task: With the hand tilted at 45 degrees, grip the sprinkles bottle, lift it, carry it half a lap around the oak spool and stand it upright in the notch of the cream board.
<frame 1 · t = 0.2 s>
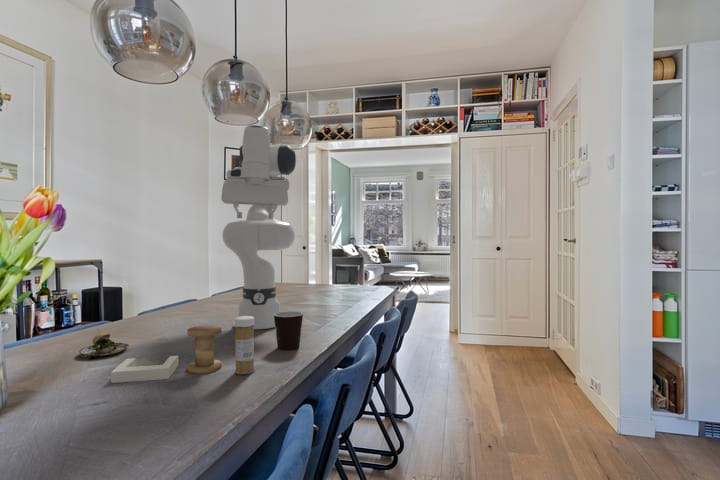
hand: (255, 218, 124), 39 cm above the table, tool pointing down, fingers open, 8 cm apart
notched board: (147, 373, 95), on the table
sprinkles bottle: (244, 372, 97), on the table
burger: (104, 354, 112), on the table
dark brown cup: (290, 346, 120), on the table
oak spool: (204, 368, 99), on the table
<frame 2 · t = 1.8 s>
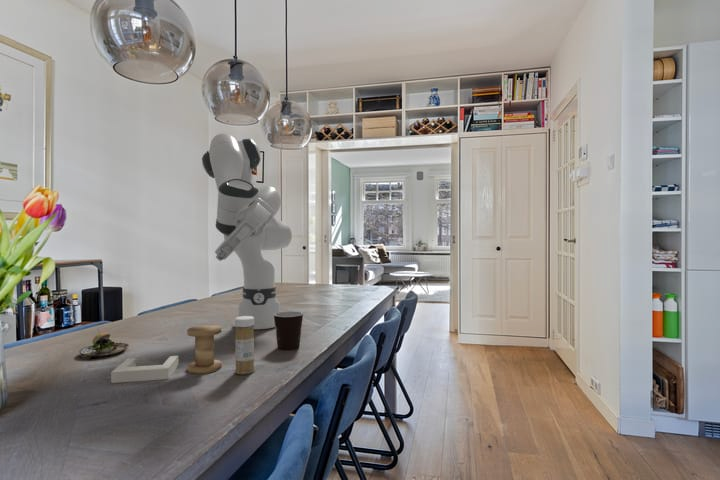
hand: (228, 249, 102), 30 cm above the table, tool tilted 55°, fingers open, 8 cm apart
nothing on the table moved.
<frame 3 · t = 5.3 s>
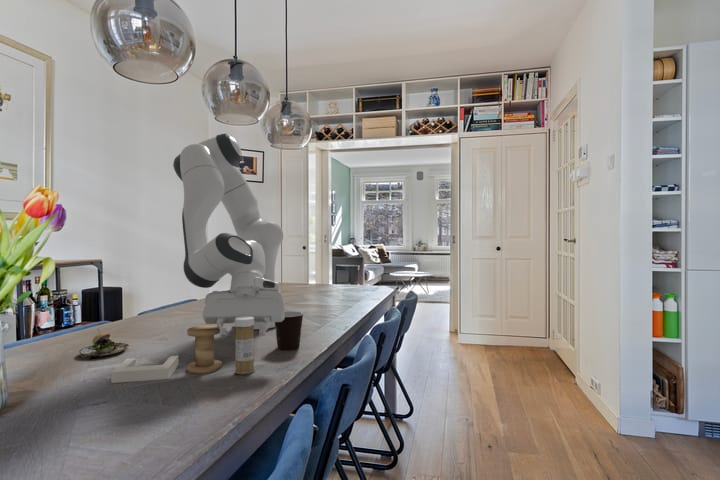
hand: (242, 335, 97), 9 cm above the table, tool tilted 45°, fingers open, 8 cm apart
nothing on the table moved.
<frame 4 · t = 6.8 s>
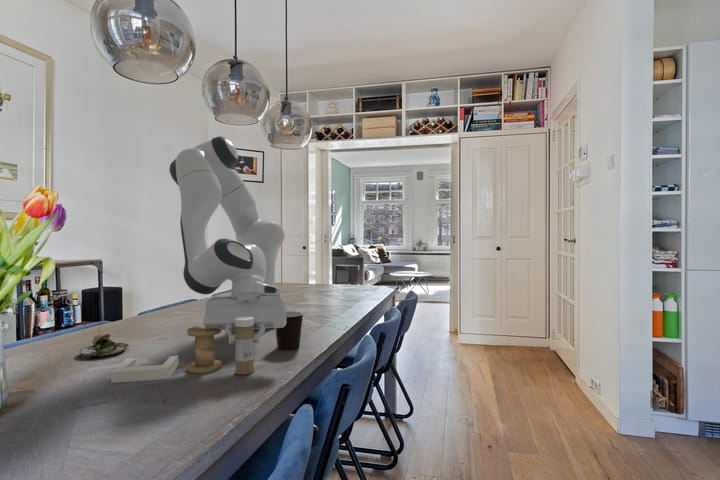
hand: (244, 342, 96), 7 cm above the table, tool tilted 45°, fingers closed on sprinkles bottle, 4 cm apart
sprinkles bottle: (244, 372, 97), on the table, touching gripper
everything else where it was.
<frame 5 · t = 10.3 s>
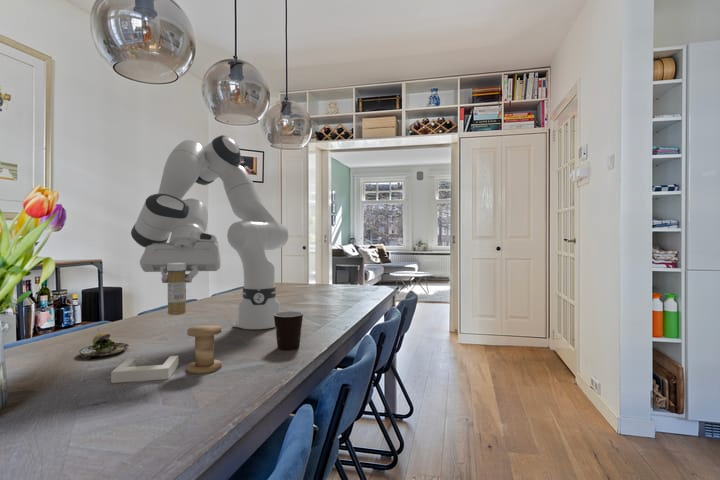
hand: (176, 281, 104), 21 cm above the table, tool tilted 45°, fingers closed on sprinkles bottle, 4 cm apart
sprinkles bottle: (176, 314, 104), point 13 cm above the table, touching gripper
everything else where it was.
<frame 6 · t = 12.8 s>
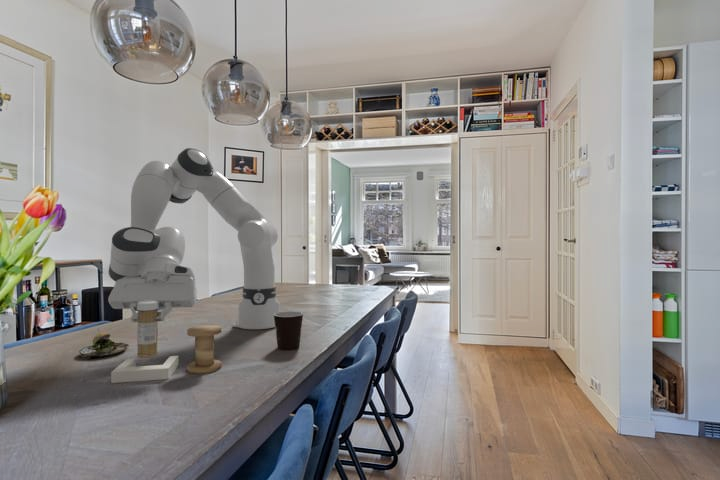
hand: (147, 320, 97), 13 cm above the table, tool tilted 45°, fingers closed on sprinkles bottle, 4 cm apart
sprinkles bottle: (147, 356, 97), point 4 cm above the table, touching gripper
everything else where it was.
when the fingers open (9 cm above the table, at t = 14.2 s): sprinkles bottle stays where it is, on the table.
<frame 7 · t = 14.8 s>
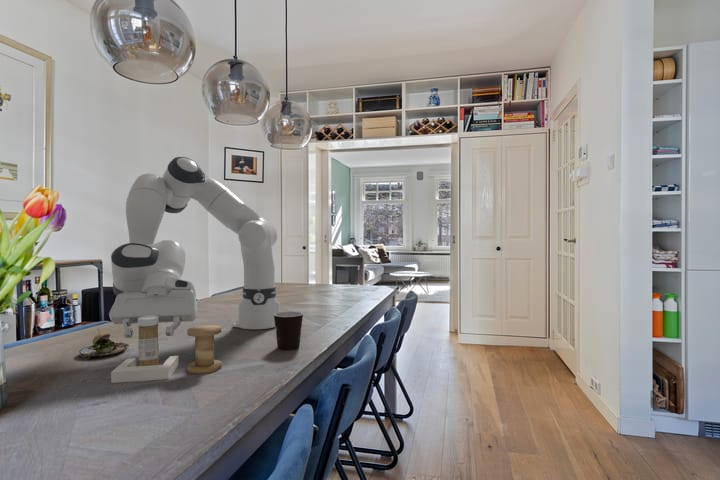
hand: (148, 335, 97), 9 cm above the table, tool tilted 45°, fingers open, 8 cm apart
sprinkles bottle: (148, 372, 97), on the table
everything else where it was.
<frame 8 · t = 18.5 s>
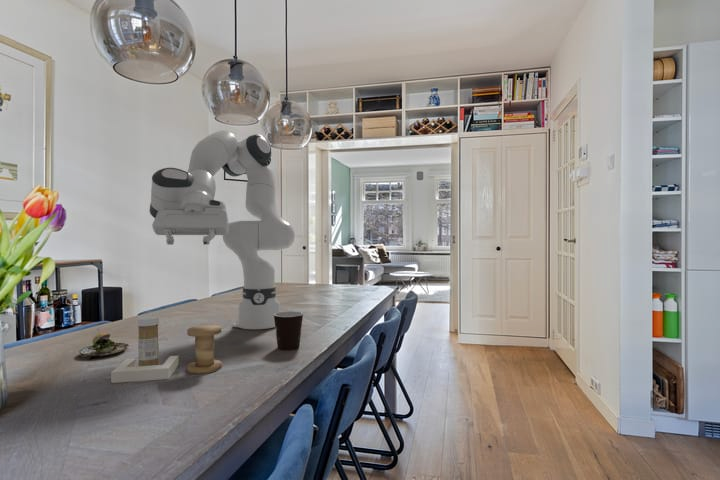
hand: (187, 243, 109), 31 cm above the table, tool tilted 45°, fingers open, 8 cm apart
nothing on the table moved.
at the end: sprinkles bottle inside the target area on the notched board (0.6 cm from its centre), point 0.0 cm above the notched board's base; sprinkles bottle tilted 0°; the gripper is holding nothing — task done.
